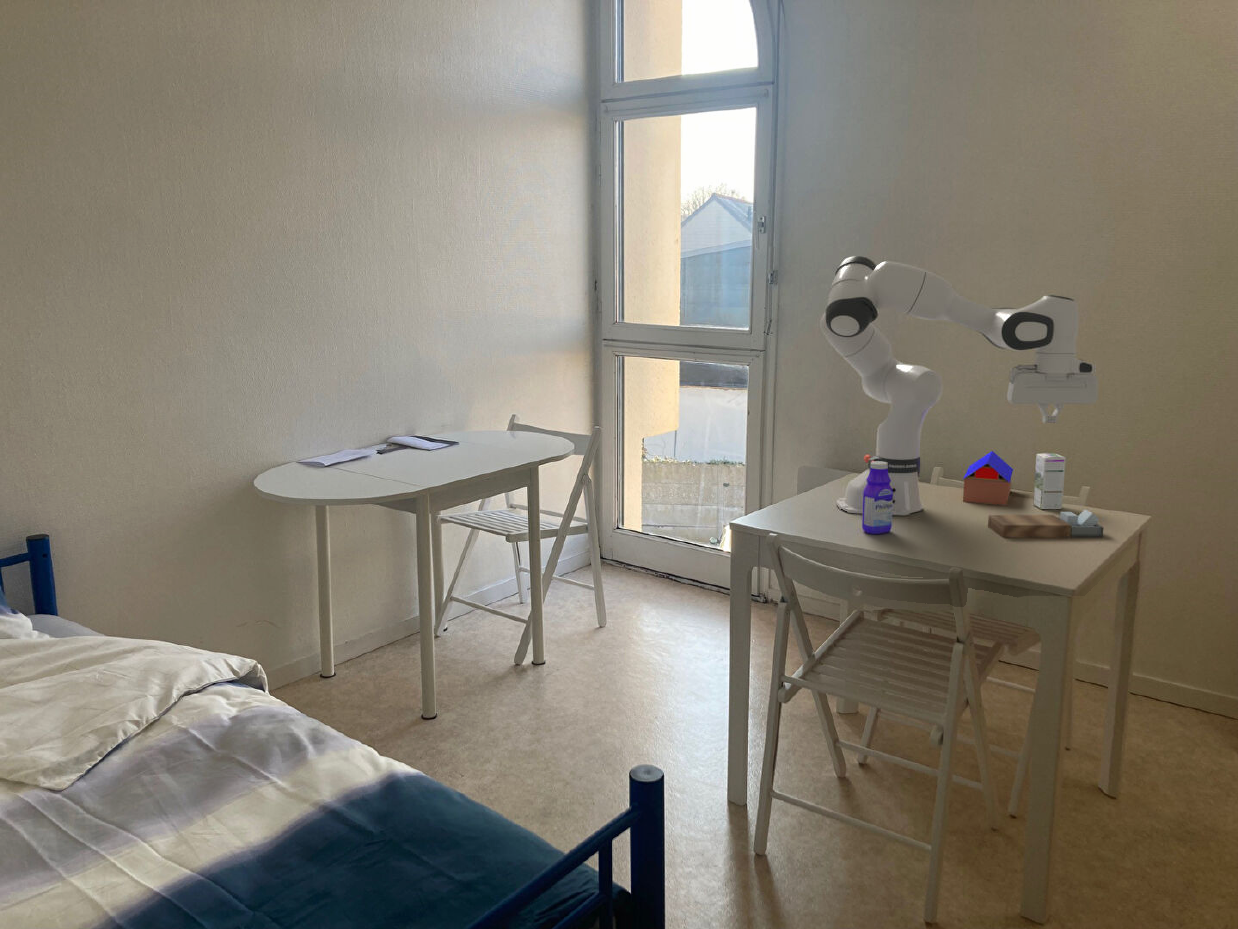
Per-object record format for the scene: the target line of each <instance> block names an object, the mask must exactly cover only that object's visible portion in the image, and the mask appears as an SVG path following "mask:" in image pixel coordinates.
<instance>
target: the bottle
mask: <svg viewBox="0 0 1238 929" xmlns="http://www.w3.org/2000/svg"><path fill="white" fill-rule="evenodd" d="M866 481H867V485H866V487H865V489H864V492H863V514H861V515H862V519H861V520H862V522H861V526H862V531H864V532H865V533H866V534H867V533H868V534H870V535H880V534H881V535H882V534H885V533H889V532H891V529H892V526H893V524H892V523H893V515H892V505H893V491H892V488H891V486H890V482H891V479H890V478H889V475H888V463H887V462H883V461H874V462H871V466H870V473H869V476H868V478H867V479H866Z"/></svg>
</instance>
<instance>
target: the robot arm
mask: <svg viewBox="0 0 1238 929" xmlns="http://www.w3.org/2000/svg"><path fill="white" fill-rule="evenodd" d="M834 275H835V276H834V279H833V281H832V283H831V286H830V289H829V295H828V300H827V307H826V309H825V312H824V313H823V315H822V316H821V318H820V322H819V326H820V330H821V332H822V334H823V336H824V337H825V338H826V340H827V341H828V343H829V344H830V345H831V346H832V348H833V349H834V350H835V351H836V352H837V353H838V355H839V356H841V357H842V358H843V359H844V360H845V361H846V362H847V363H848V364H849V365H850V367H852V368H853V369H854V370H855V371H856V372H857V374H858V375H859V376H860V378H861V387H862V390H863V392H864V393H865V395H867V396H869V397H870V398H872V399H873V400H876V401H878V402H880V403H885V404H890V408H889V411H888V414H887V417H886V419H885V420H884V421H882V422H881V423H879V425H878V427H877V433H876V453H875V454H874V455H872V456H871V455H870V454H865V455H864V457H863V461H864V463H867V467H868V468H867V469H866V470H864V471H863V472H862V473H860V474H859V475H857V476H856V477H855V478H852V479H851V480H850V481H849V482H848V484H847V486H846V489H845V493H844V494H845V495H844V497H840V498H838V499H836V503H837V505H838V507H839V508H838V507H837V508H838V509H839V510H841V509H843V510H845V511H847V512H846V513H850V514H861V515H863V492H864V489H865V487H866V485H867V481H866V479H867V478H868V476H869V473H870V466H871V462H874V461H883V462H887V463H888V475H889V478H890V479H891V482H890V486H891V488H892V491H893V505H892V516H909V515H911V514H912V513H913V514H914V513H916V512H920V511H922V510H923V506H922V502H921V496H920V486H919V478H920V474H921V464H922V463H921V457H920V443H921V435H922V434H921V433H922V428H923V424H924V420H925V419H926V416H927V414H928V412H929V410H930V409H932V407H933V406H934V405H936V404H937V403H938V402H939V400H940V399H941V397H942V396H943V393H944V392H943V391H944V384H943V383H944V382H943V379H942V377H941V375H940V374H939V373H938V372H937V371H935V370H932V369H930V368H928V367H926V366H924V365H916V364H908V363H904V362H901V361H898V360H897V358H895V357H894V356H893V353H892V352H893V350H892V349H893V347H892V344H891V342H890V341H889V340H888V339H887V337H885V335H884V334H883V333H882V332H881V331H880V330H879V329H878V328H877V327H876V326H875V325H874V324H873V322H874V321H876V319H878V317H879V314H878V310H880V309H890V310H895V311H897V312H899V313H901V314H904V315H907V316H910V317H913V318H916V319H921V320H926V321H934V322H936V321H946V322H951V323H955V324H957V325H960V326H962V327H965V328H967V329H970V330H973V331H975V332H978V333H980V334H981V335H982V336H983V337H984V338H985V340H987V341H988V342H989V343H990V344H992V346H994V347H996V348H998V349H1002V350H1010V351H1015V352H1023V351H1028V350H1033V349H1035V353H1034V362H1033V364H1025V365H1024V364H1023V365H1022V364H1017V365H1015V366H1013V367H1012V368H1011V369H1010V370H1009V376H1008V378H1009V383H1008V388H1007V394H1006V399H1007V400H1008V402H1009V403H1011V404H1013V405H1038V407H1037V408H1038V410H1039V411H1040V413H1041V415H1042V418H1041V419H1042V420H1041V421H1042V423H1043V424H1049V423H1050V424H1057V423H1058V419H1059V418H1058V417H1059V415H1060V414H1061V413H1062V411H1063V410H1064V407H1065V406H1064V405H1093V404H1095V403H1096V401H1097V400H1098V396H1099V380H1098V378H1097V376H1096V375H1095V373H1096V372H1097V368H1098V367H1097V364H1095V363H1091V362H1089V361H1085V360H1083V359H1082V358H1081V359H1080V358H1077V348H1076V340H1077V337H1078V336H1079V335H1078V334H1079V326H1080V325H1079V321H1080V320H1079V319H1080V318H1079V317H1080V315H1079V312H1080V311H1079V306H1078V303H1077V302H1076V300H1074V299H1072V298H1070V297H1066V296H1063V295H1062V296H1061V295H1053V294H1047V295H1043V296H1042V298H1040V299H1039V300H1037V301H1035V302H1033V303H1031V304H1028V305H1026V306H1024V307H1020V308H1018V309H1017V308H1013V307H999V308H992V307H989V306H986V305H983V304H981V303H978V302H975V301H973V300H970V299H967V298H965V297H963V296H961V295H960V294H958V293H957V292H956V290H955V289H954V287H953V285H952V283H951V282H950V281H948V280H946V279H945V278H943V277H942V276H939V275H937V274H936V273H933V272H931V271H928V270H926V269H923V268H921V267H917V266H914V265H911V264H906V263H901V262H896V261H891V260H889V261H888V260H886V261H882V262H881V263H879V264H878V265H876V263H875V262H874V261H873V260H872V259H870V258H868V257H866V256H861V255H856V256H855V255H853V256H850V257H847V258H845V259H844V260H843V261H842V262H841V263H840V264H839V266H838V267H837V270H836V271H835V274H834ZM1049 405H1053V408H1054V411H1053V412H1052V414H1048V412H1047V409H1049ZM837 505H836V506H837ZM843 510H842V511H843ZM845 511H844V512H845Z"/></svg>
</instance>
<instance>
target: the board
mask: <svg viewBox="0 0 1238 929" xmlns="http://www.w3.org/2000/svg"><path fill="white" fill-rule="evenodd" d="M1058 517H1059V516H1055V515H1054V514H988V520H987V522H988V523H987V527H988V528H989V529H990V530H992V531H993V532H995V533H996V534H997V535H999V536H1000V537H1002V538H1071V537H1070V533H1071V525H1070V524H1068V523H1066V522H1065V521H1063V520H1061V519H1059V518H1058Z"/></svg>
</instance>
